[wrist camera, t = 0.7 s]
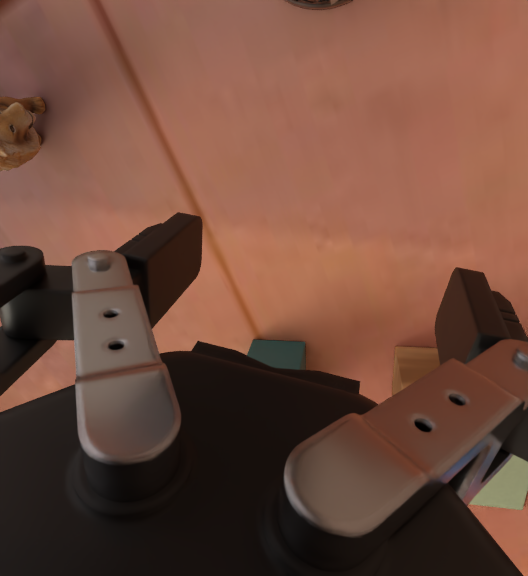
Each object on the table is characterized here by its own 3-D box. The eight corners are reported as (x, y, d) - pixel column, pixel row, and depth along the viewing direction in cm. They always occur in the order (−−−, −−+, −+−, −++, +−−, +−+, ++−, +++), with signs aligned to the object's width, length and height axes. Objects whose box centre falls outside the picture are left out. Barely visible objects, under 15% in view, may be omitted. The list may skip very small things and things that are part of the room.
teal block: (253, 339, 37) (221, 416, 28) (305, 341, 36) (290, 421, 27) (256, 382, 39) (228, 467, 30) (306, 385, 38) (292, 474, 29)
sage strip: (283, 428, 41) (283, 430, 41) (536, 450, 37) (537, 452, 36) (286, 481, 44) (285, 483, 43) (521, 507, 39) (522, 510, 39)
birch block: (395, 345, 35) (409, 432, 26) (454, 348, 34) (490, 438, 25) (391, 391, 37) (404, 486, 28) (448, 394, 36) (479, 494, 27)
